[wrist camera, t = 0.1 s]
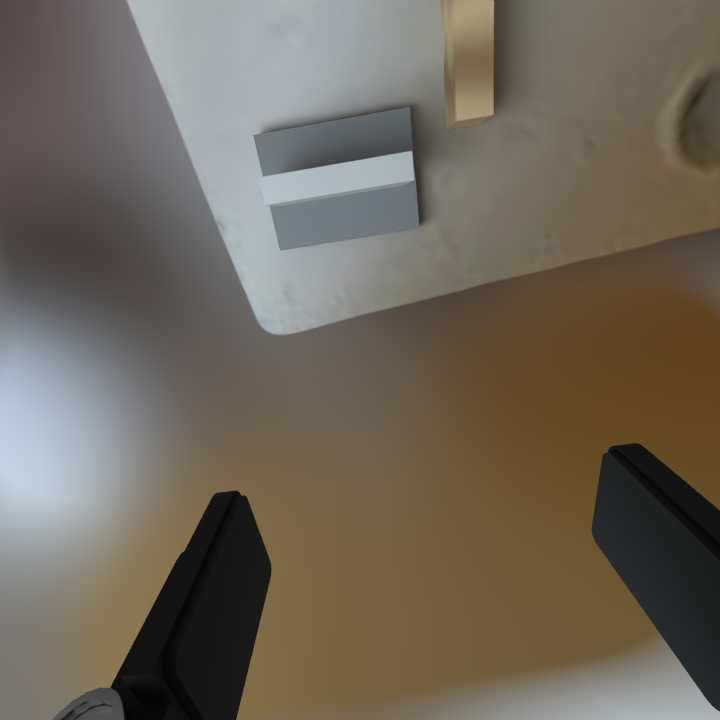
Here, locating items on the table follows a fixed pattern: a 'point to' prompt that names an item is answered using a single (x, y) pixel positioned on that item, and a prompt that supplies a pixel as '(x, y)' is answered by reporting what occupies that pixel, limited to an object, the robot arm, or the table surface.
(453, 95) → the rod
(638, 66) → the table surface
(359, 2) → the table surface
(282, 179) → the fulcrum
